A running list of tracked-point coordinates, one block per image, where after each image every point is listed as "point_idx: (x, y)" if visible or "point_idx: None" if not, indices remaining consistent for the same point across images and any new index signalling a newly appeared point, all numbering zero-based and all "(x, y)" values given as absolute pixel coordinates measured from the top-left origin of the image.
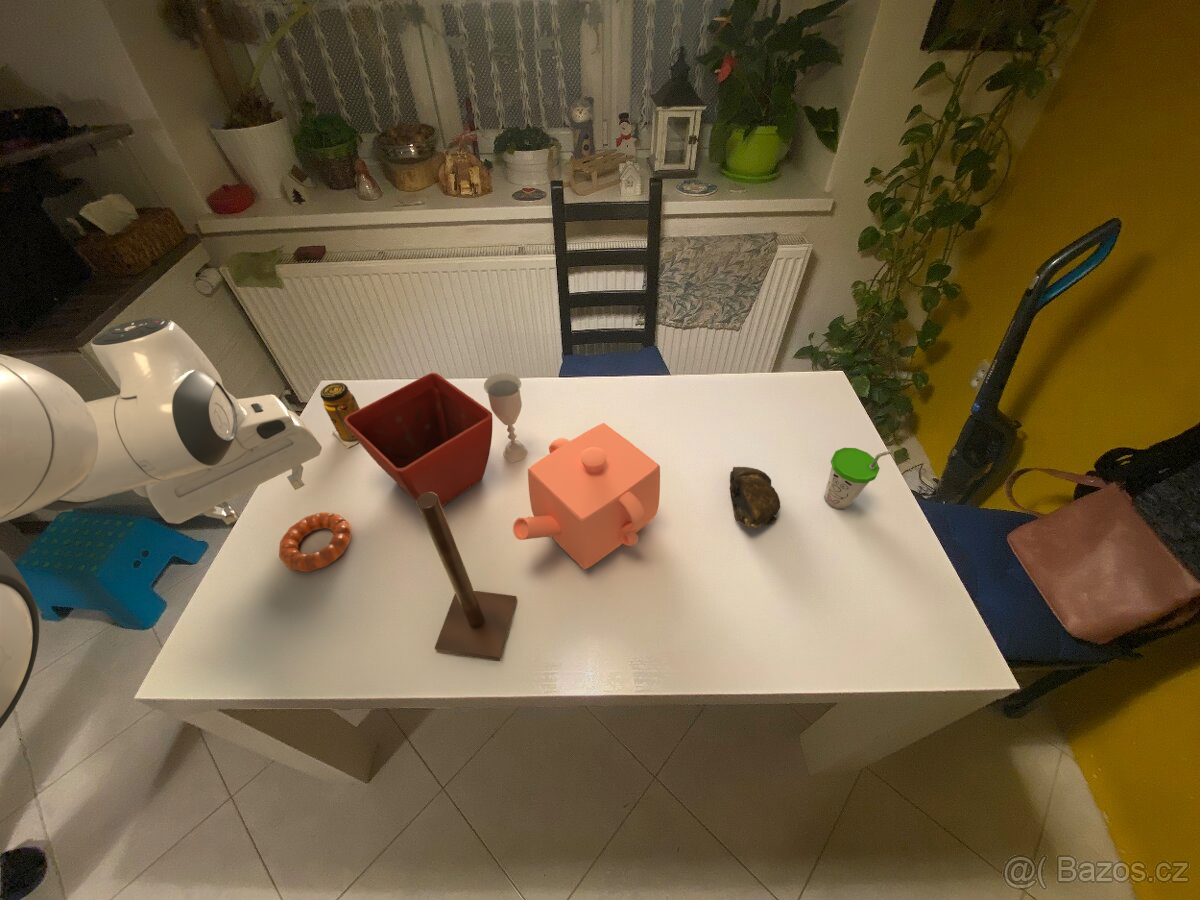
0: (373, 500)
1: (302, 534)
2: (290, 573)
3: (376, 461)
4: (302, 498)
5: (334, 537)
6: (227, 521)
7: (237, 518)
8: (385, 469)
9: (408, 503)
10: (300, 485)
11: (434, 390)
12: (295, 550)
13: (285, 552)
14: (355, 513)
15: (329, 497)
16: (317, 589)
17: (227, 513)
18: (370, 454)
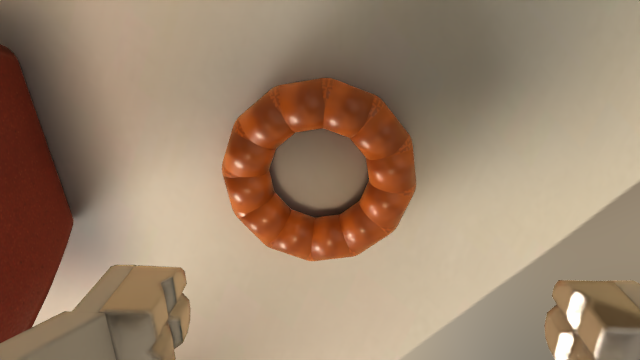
0: (150, 206)
1: (338, 218)
2: (414, 133)
3: (25, 284)
4: (298, 324)
5: (268, 138)
6: (637, 296)
7: (567, 284)
8: (5, 236)
9: (66, 132)
10: (129, 273)
11: None
12: (374, 175)
13: (398, 183)
14: (205, 199)
15: (243, 287)
16: (382, 26)
17: (630, 349)
18: (7, 313)
